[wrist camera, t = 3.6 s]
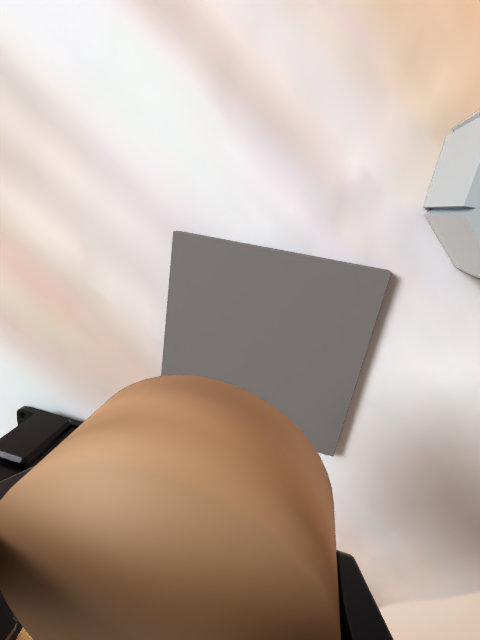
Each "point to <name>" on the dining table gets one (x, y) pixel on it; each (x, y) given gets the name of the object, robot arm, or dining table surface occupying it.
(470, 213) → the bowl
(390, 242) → the dining table surface
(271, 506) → the tan rounded dome
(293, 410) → the mat
